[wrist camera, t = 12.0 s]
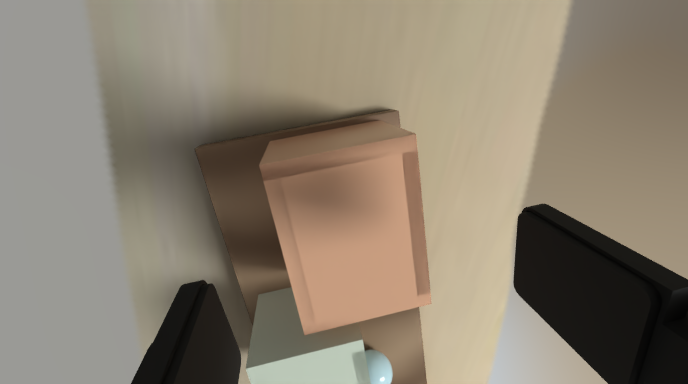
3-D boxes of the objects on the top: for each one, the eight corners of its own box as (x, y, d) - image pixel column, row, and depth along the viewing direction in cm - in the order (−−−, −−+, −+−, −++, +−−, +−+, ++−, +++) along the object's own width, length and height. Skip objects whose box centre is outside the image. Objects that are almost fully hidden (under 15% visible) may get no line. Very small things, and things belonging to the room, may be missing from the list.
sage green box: (258, 294, 21) (245, 368, 16) (345, 274, 22) (362, 339, 16) (278, 361, 23) (274, 448, 18) (357, 341, 24) (377, 419, 18)
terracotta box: (269, 141, 18) (259, 165, 13) (379, 120, 19) (415, 134, 13) (301, 269, 21) (304, 335, 16) (395, 248, 22) (431, 303, 16)
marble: (349, 367, 25) (345, 347, 23) (385, 356, 25) (384, 336, 24) (359, 409, 23) (354, 391, 21) (399, 397, 23) (398, 378, 21)
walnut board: (200, 145, 19) (194, 148, 18) (392, 109, 20) (398, 110, 19) (294, 438, 28) (294, 453, 27) (424, 403, 29) (430, 416, 28)
